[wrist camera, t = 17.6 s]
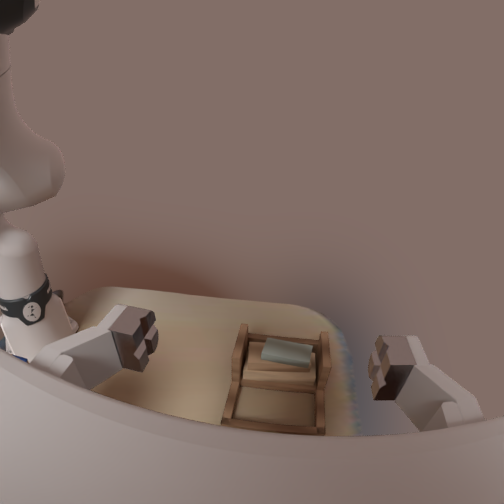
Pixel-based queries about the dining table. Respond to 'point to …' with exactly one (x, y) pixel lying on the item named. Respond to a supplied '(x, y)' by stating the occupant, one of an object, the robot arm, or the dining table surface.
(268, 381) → the rack
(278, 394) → the dining table surface
